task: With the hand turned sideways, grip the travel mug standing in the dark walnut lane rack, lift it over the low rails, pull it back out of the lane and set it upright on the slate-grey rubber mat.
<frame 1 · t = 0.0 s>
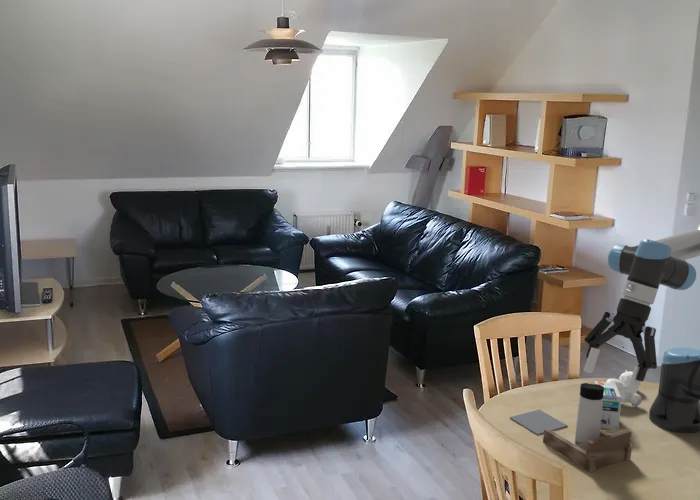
hand: (608, 382, 174), 28 cm above the table, tool tilted 20°, fingers open, 13 cm apart
ornament: (628, 390, 237), on the table
light bulb box: (604, 421, 214), on the table
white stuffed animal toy: (621, 405, 226), on the table
travel mug: (585, 451, 196), resting in lane rack
grey mat: (538, 422, 213), on the table
lane rack: (585, 450, 196), on the table
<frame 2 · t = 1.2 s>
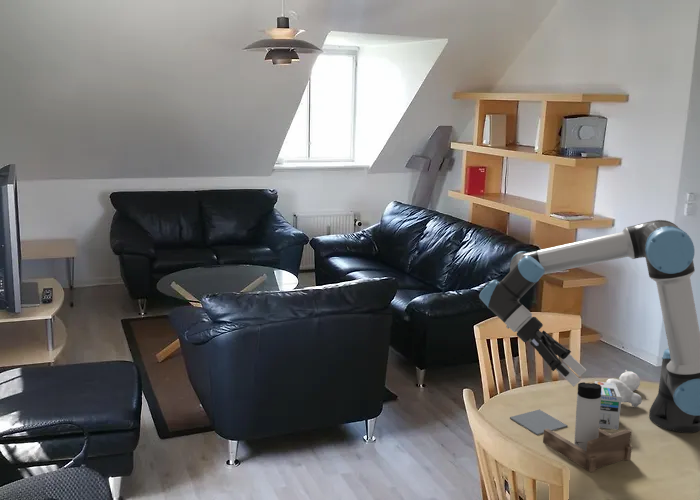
hand: (580, 378, 197), 20 cm above the table, tool tilted 55°, fingers open, 13 cm apart
nothing on the table moved.
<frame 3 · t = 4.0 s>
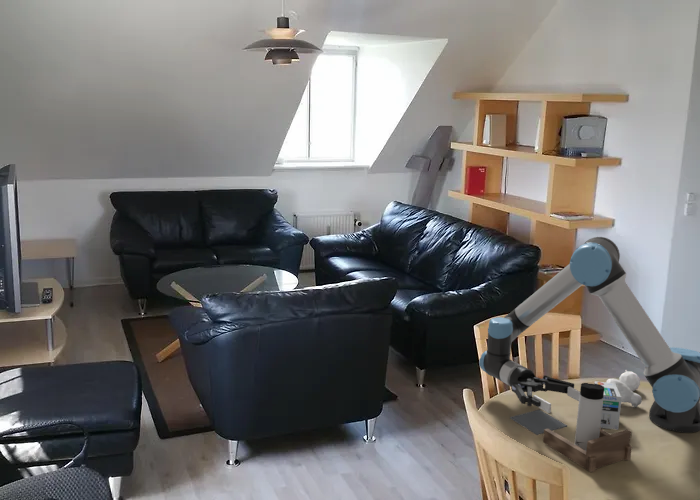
hand: (567, 403, 200), 11 cm above the table, tool horizontal, fingers open, 13 cm apart
nothing on the table moved.
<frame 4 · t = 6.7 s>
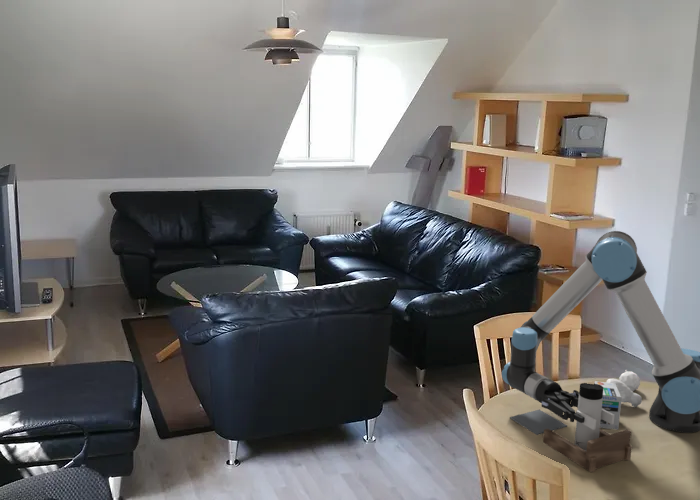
hand: (604, 422, 190), 11 cm above the table, tool horizontal, fingers closed on travel mug, 6 cm apart
travel mug: (585, 451, 196), resting in lane rack, touching gripper
everything else where it was.
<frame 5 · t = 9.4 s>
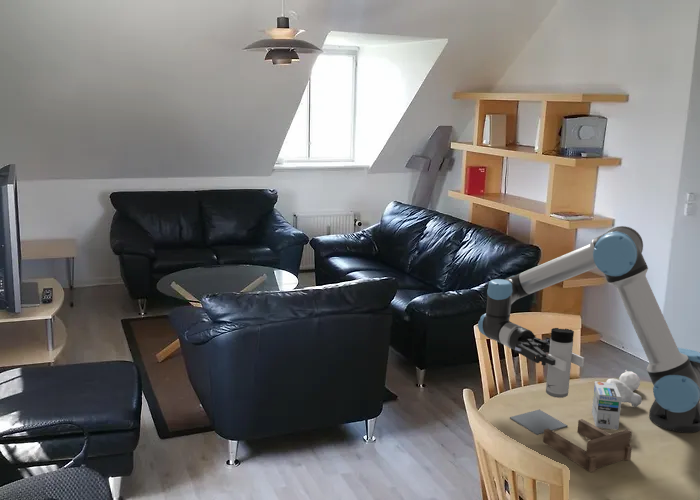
hand: (573, 364, 196), 24 cm above the table, tool horizontal, fingers closed on travel mug, 6 cm apart
travel mug: (556, 394, 203), point 12 cm above the table, touching gripper
everything else where it was.
when the fingers open (12 cm above the table, at t = 12.4 s): travel mug moves 1 cm, resting on grey mat.
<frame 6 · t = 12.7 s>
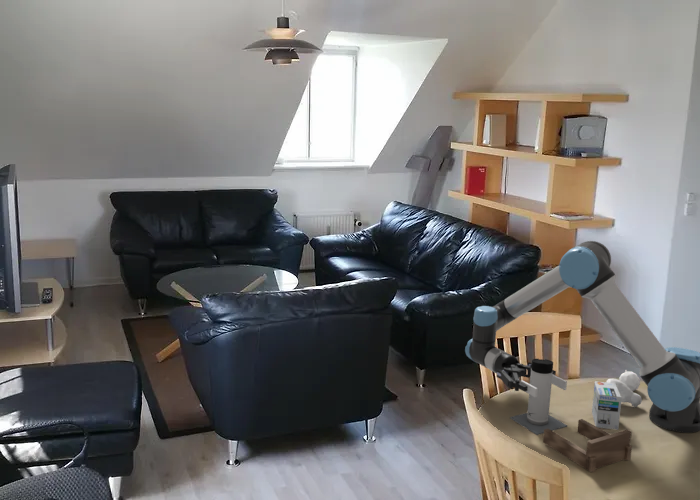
hand: (551, 389, 206), 12 cm above the table, tool horizontal, fingers open, 11 cm apart
travel mug: (537, 421, 212), resting on grey mat
everything else where it was.
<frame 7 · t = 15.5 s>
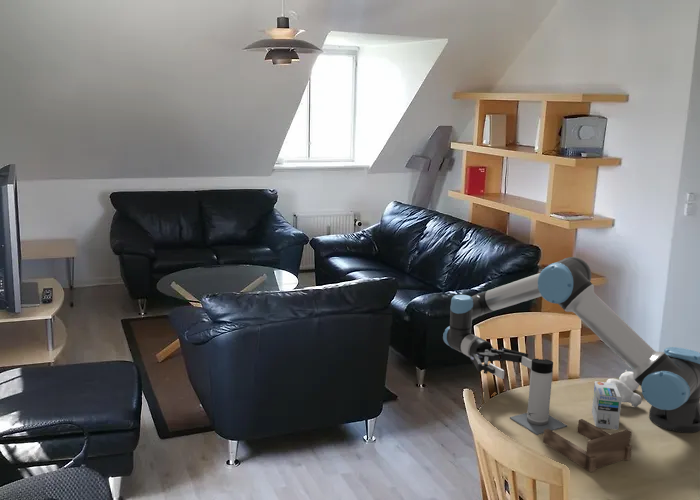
hand: (520, 370, 218), 13 cm above the table, tool horizontal, fingers open, 13 cm apart
nothing on the table moved.
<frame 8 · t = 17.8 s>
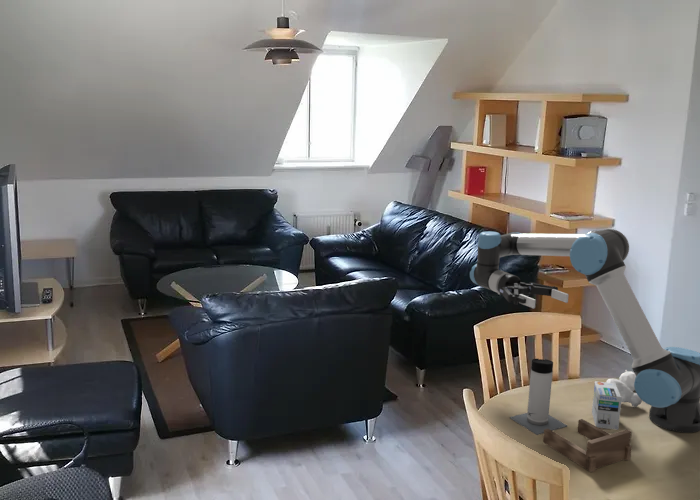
hand: (551, 301, 216), 35 cm above the table, tool horizontal, fingers open, 13 cm apart
nothing on the table moved.
at the end: travel mug inside the target area (0.4 cm from its centre), resting on grey mat; travel mug tilted 0°; the gripper is holding nothing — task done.
